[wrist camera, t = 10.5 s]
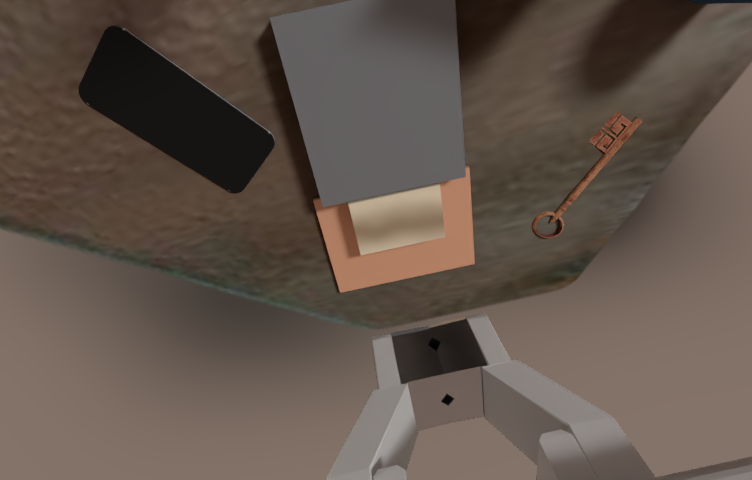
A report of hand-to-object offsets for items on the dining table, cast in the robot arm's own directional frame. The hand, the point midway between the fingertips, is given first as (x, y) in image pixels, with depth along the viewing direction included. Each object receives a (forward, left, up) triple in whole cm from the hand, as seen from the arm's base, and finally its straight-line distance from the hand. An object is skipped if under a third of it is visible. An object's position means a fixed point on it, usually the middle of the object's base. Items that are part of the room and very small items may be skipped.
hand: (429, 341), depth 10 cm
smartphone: (-2, -15, -30) cm, 33 cm away
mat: (+14, +2, -29) cm, 32 cm away
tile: (+11, +2, -29) cm, 31 cm away
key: (+12, +22, -30) cm, 39 cm away
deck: (0, +2, -29) cm, 29 cm away
